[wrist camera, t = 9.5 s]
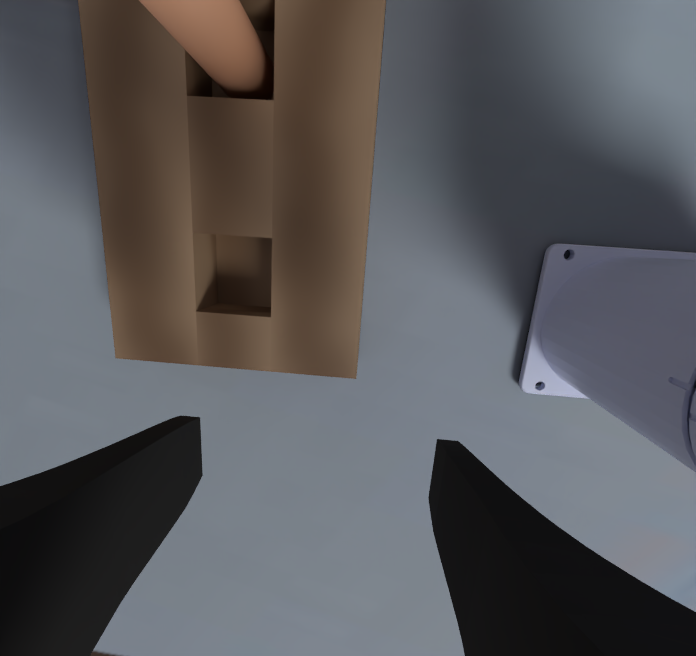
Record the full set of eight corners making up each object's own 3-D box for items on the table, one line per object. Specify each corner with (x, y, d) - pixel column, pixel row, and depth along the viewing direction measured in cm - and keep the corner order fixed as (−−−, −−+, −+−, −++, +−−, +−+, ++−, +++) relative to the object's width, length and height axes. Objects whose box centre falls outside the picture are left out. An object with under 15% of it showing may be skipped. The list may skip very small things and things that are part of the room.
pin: (276, 48, 15) (183, -155, 8) (274, 110, 16) (186, -18, 8) (222, 44, 15) (74, -161, 8) (223, 106, 16) (86, -24, 8)
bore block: (388, -29, 15) (393, -95, 12) (357, 358, 19) (356, 378, 16) (124, -38, 15) (67, -105, 12) (152, 341, 20) (115, 358, 17)
